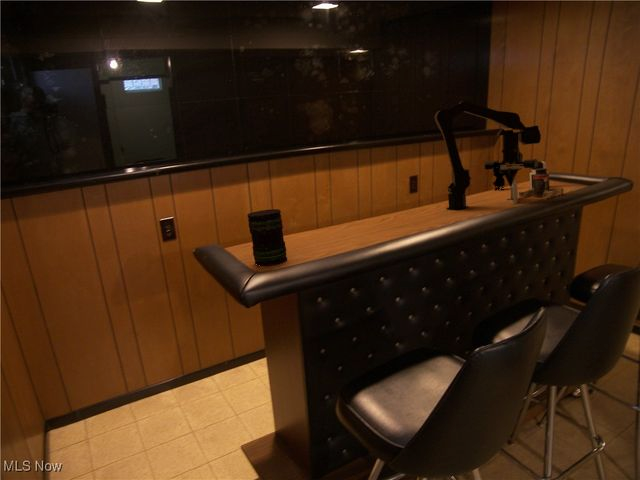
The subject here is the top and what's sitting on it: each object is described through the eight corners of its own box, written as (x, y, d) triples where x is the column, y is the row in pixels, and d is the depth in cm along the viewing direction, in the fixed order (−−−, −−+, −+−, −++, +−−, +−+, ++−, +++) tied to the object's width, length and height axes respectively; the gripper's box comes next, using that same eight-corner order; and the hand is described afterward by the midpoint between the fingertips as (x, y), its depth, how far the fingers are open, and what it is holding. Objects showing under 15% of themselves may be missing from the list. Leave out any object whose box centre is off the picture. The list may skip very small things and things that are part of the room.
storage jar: (278, 266, 129) (270, 214, 125) (248, 266, 132) (240, 216, 129) (293, 257, 137) (286, 208, 134) (264, 257, 141) (257, 210, 138)
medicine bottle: (531, 189, 208) (531, 163, 205) (529, 187, 214) (529, 162, 212) (549, 188, 206) (548, 161, 203) (546, 186, 212) (546, 160, 210)
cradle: (545, 199, 180) (545, 193, 179) (519, 198, 190) (518, 192, 189) (563, 194, 185) (563, 188, 185) (536, 193, 195) (536, 187, 195)
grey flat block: (510, 197, 190) (510, 180, 189) (516, 197, 190) (516, 179, 188) (512, 202, 178) (512, 184, 177) (519, 202, 178) (518, 183, 176)
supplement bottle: (550, 196, 184) (550, 168, 182) (534, 197, 186) (534, 170, 183) (548, 194, 190) (547, 167, 187) (532, 195, 191) (531, 168, 189)
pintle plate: (515, 200, 186) (515, 199, 186) (506, 199, 190) (506, 199, 190) (521, 198, 188) (521, 198, 188) (513, 198, 192) (513, 197, 192)
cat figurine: (489, 190, 220) (488, 166, 217) (497, 188, 224) (496, 164, 221) (503, 190, 214) (502, 165, 212) (510, 188, 219) (510, 163, 216)
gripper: (542, 142, 176) (541, 182, 180) (493, 145, 188) (493, 183, 192) (534, 145, 168) (534, 187, 172) (483, 148, 180) (484, 187, 184)
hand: (510, 186), depth 180 cm, fingers closed
